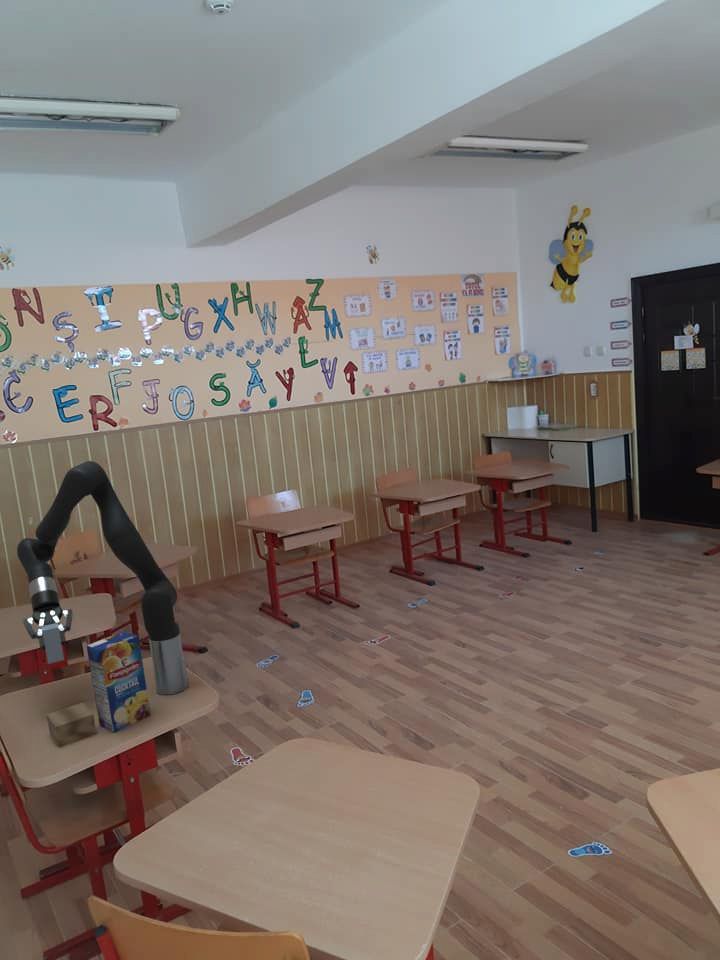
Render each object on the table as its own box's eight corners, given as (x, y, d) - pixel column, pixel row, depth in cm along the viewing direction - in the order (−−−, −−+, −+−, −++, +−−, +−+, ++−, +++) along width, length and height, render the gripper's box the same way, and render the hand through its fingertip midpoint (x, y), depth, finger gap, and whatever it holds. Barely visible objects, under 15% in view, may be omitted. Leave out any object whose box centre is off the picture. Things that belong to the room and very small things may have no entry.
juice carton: (136, 708, 219) (124, 631, 215) (150, 714, 214) (139, 635, 210) (99, 726, 210) (86, 645, 206) (113, 733, 205) (100, 650, 201)
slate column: (63, 655, 219) (57, 622, 217) (64, 659, 215) (58, 627, 213) (47, 658, 217) (41, 626, 215) (48, 663, 213) (42, 630, 212)
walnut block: (86, 721, 214) (83, 702, 213) (96, 734, 206) (93, 714, 205) (49, 734, 208) (46, 714, 207) (59, 747, 200) (55, 727, 199)
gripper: (16, 594, 217) (25, 647, 208) (68, 584, 222) (79, 634, 214) (19, 607, 222) (27, 658, 213) (70, 596, 228) (80, 646, 219)
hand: (53, 646), depth 214 cm, fingers closed on slate column, 4 cm apart
